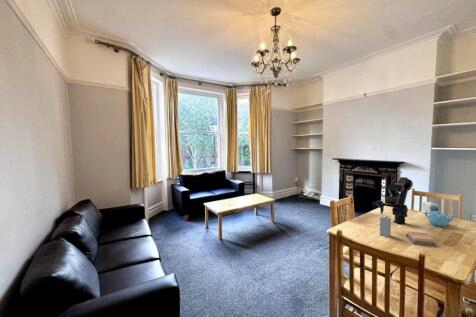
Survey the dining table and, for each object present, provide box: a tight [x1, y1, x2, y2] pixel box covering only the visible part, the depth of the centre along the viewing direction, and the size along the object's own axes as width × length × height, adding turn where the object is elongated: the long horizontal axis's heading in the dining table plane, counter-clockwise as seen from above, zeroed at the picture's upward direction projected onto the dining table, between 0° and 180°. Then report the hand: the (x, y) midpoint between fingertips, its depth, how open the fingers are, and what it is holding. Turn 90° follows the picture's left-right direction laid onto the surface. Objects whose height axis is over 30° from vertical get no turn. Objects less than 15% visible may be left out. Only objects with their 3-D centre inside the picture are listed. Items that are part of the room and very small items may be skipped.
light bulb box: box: [421, 201, 440, 217], centre depth 186 cm, size 11×7×11 cm, turn 168°
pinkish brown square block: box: [404, 231, 437, 248], centre depth 140 cm, size 12×12×4 cm
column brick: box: [379, 215, 392, 238], centre depth 150 cm, size 5×5×14 cm
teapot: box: [424, 210, 456, 228], centre depth 165 cm, size 13×14×11 cm
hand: (388, 215), depth 154 cm, fingers open, 9 cm apart
